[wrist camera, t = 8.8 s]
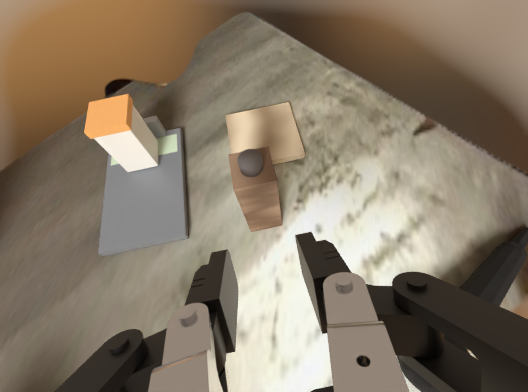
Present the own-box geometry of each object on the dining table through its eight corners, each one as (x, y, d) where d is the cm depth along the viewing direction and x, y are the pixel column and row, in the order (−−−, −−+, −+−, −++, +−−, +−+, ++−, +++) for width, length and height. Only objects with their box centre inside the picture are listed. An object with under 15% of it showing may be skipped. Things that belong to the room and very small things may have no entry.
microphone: (487, 232, 32) (380, 365, 25) (507, 197, 28) (386, 343, 21) (548, 261, 28) (443, 424, 22) (580, 225, 25) (464, 411, 18)
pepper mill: (251, 231, 32) (230, 182, 22) (246, 203, 33) (225, 146, 23) (282, 225, 32) (275, 172, 22) (275, 197, 33) (267, 137, 23)
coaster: (235, 172, 35) (233, 168, 35) (227, 120, 40) (225, 115, 39) (304, 157, 35) (304, 153, 34) (288, 107, 40) (288, 102, 39)
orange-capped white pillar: (126, 173, 36) (84, 132, 29) (127, 146, 38) (89, 102, 31) (159, 166, 36) (126, 123, 28) (159, 140, 38) (128, 93, 31)
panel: (103, 256, 32) (79, 245, 28) (113, 147, 39) (95, 128, 36) (188, 238, 32) (175, 225, 28) (182, 132, 39) (171, 112, 36)
